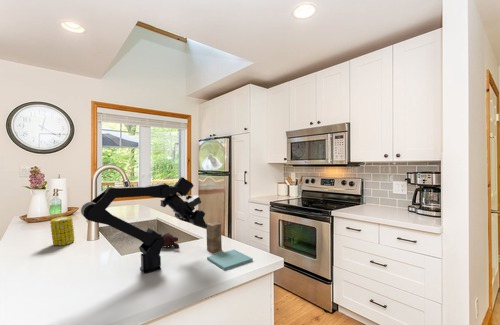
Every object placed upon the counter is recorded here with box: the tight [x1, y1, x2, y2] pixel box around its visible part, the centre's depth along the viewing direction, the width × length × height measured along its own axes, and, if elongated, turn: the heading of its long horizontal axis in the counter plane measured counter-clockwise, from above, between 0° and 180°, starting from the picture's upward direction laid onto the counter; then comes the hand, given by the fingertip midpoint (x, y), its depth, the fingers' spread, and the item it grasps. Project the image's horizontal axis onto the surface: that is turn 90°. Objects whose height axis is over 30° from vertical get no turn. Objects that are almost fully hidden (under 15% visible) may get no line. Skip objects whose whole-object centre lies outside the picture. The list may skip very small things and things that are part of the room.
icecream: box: [162, 232, 180, 249], centre depth 127 cm, size 7×7×15 cm
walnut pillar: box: [206, 221, 223, 254], centre depth 121 cm, size 5×5×12 cm
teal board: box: [206, 249, 254, 271], centre depth 108 cm, size 14×14×1 cm
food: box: [50, 215, 76, 246], centre depth 135 cm, size 15×12×10 cm
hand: (201, 225), depth 116 cm, fingers open, 9 cm apart
